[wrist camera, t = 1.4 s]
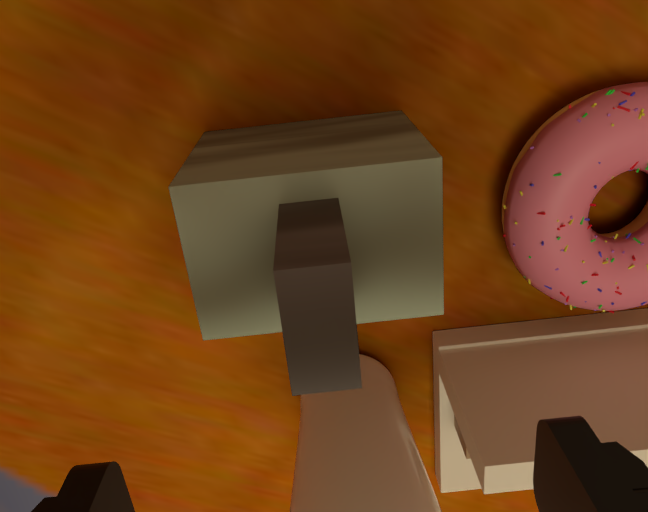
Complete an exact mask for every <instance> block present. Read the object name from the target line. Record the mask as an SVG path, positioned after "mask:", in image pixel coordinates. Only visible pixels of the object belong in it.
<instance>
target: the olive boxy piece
mask: <svg viewBox="0 0 648 512" xmlns="http://www.w3.org/2000/svg"><path fill="white" fill-rule="evenodd" d="M169 191H170V196H171V200H172V205H173V209H174V214H175V218H176V222H177V227H178V231H179V236H180V240H181V245H182V249H183V253H184V258H185V262H186V267H187V271H188V275H189V280H190V284H191V289H192V293H193V298H194V302H195V306H196V311H197V315H198V320H199V324H200V329H201V333H202V337H203V340H211V339H220V338H230V337H239V336H248V335H258V334H267V333H276V332H283V339H284V345H285V352H286V358H287V365H288V371H289V378H290V384H291V391H292V396H295V395H304V394H314V393H323V392H332V391H342V390H351V389H360V388H362V381H361V369H360V358H359V346H358V335H357V324H360V323H369V322H379V321H388V320H397V319H407V318H416V317H425V316H434V315H444V286H443V187H442V156H441V155H440V154H439V153H438V152H437V151H436V150H435V148H434V147H433V146H432V145H431V144H430V143H429V142H428V140H427V139H426V138H425V137H424V136H423V135H422V133H421V132H420V131H419V130H418V129H417V128H416V127H415V125H414V124H413V123H412V122H411V121H410V120H409V119H408V117H407V116H406V115H405V114H404V113H403V112H402V111H392V112H383V113H374V114H365V115H356V116H346V117H337V118H328V119H319V120H310V121H300V122H291V123H282V124H273V125H264V126H254V127H245V128H236V129H227V130H218V131H208V132H204V134H203V135H202V137H201V138H200V140H199V141H198V143H197V144H196V146H195V147H194V149H193V150H192V152H191V153H190V155H189V156H188V158H187V159H186V161H185V163H184V164H183V166H182V167H181V169H180V170H179V172H178V173H177V175H176V176H175V178H174V179H173V181H172V182H171V184H170V185H169Z"/></svg>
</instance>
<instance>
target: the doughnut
mask: <svg viewBox="0 0 648 512" xmlns="http://www.w3.org/2000/svg"><path fill="white" fill-rule="evenodd" d="M632 170H635V172H637V173H638V172H639V170H640V171H643V172H645V173H647V174H648V82H637V83H630V84H623V85H617V86H612V87H608V88H604V89H601V90H598V91H595V92H592V93H590V94H588V95H585V96H583V97H581V98H579V99H577V100H575V101H573V102H572V103H570V104H568V105H567V106H565V107H564V108H562V109H561V110H559V111H558V112H557V113H555V114H554V115H553V116H551V117H550V118H549V119H548V120H547V121H546V122H545V123H543V124H542V125H541V126H540V127H539V128H538V129H537V131H536V132H535V133H534V134H533V135H532V136H531V137H530V139H529V140H528V141H527V143H526V144H525V145H524V147H523V148H522V150H521V151H520V153H519V155H518V156H517V158H516V160H515V162H514V164H513V166H512V168H511V171H510V173H509V176H508V179H507V182H506V185H505V189H504V194H503V200H502V225H503V231H504V235H503V237H505V243H506V246H507V249H508V251H509V254H510V256H511V258H512V260H513V262H514V264H515V266H516V267H517V269H518V270H519V272H520V273H521V274H522V276H523V277H524V278H525V279H526V280H527V281H528V283H529V284H531V285H532V286H533V287H535V288H536V289H538V290H540V291H541V292H543V293H544V294H546V295H548V296H550V297H551V299H555V300H557V301H559V302H562V303H564V304H565V305H570V310H572V306H574V308H576V307H579V308H584V309H590V310H594V311H596V310H600V311H603V312H605V311H608V312H611V313H614V311H615V310H624V309H629V308H634V307H638V306H642V305H646V304H648V200H647V203H646V205H645V206H644V208H643V210H642V211H641V212H640V214H639V215H638V216H637V217H636V218H635V219H634V220H633V221H632V222H631V223H629V224H628V225H626V226H625V227H623V228H621V229H619V230H617V231H614V232H611V233H606V234H598V233H596V232H595V231H594V230H593V229H592V228H591V226H592V224H590V225H589V223H588V221H589V220H590V219H589V218H588V214H589V209H590V206H596V204H591V203H592V201H593V199H594V198H595V196H596V194H597V193H598V192H599V190H600V189H601V188H602V187H603V186H604V185H605V184H606V183H607V182H608V181H610V180H611V179H612V178H614V177H615V176H617V175H619V174H621V173H623V172H626V171H632Z"/></svg>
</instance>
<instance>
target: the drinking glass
mask: <svg viewBox="0 0 648 512" xmlns="http://www.w3.org/2000/svg"><path fill="white" fill-rule="evenodd" d="M359 358H360V369H361V381H362V388H360V389H351V390H342V391H332V392H323V393H314V394H304V395H301V415H300V425H299V435H298V444H297V453H296V462H295V471H294V479H293V488H292V496H291V505H290V512H442V510H441V508H440V505H439V503H438V500H437V497H436V495H435V492H434V490H433V487H432V485H431V482H430V479H429V477H428V474H427V472H426V469H425V467H424V464H423V461H422V459H421V456H420V454H419V451H418V448H417V446H416V443H415V441H414V438H413V435H412V433H411V430H410V427H409V425H408V422H407V419H406V417H405V414H404V411H403V408H402V406H401V403H400V400H399V396H398V392H397V388H396V384H395V381H394V379H393V377H392V375H391V373H390V372H389V371H388V369H387V368H386V367H385V366H384V365H383V364H381V363H380V362H379V361H377V360H375V359H374V358H371V357H369V356H366V355H362V354H359Z"/></svg>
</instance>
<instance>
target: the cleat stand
mask: <svg viewBox="0 0 648 512" xmlns="http://www.w3.org/2000/svg"><path fill="white" fill-rule="evenodd" d="M433 377H434V427H435V474H436V477H437V481H438V484H439V488H440V491H441V493H445V492H454V491H464V490H473V489H482V490H483V493H484V494H490V493H500V492H509V491H519V490H528V489H534V488H533V470H534V457H535V444H536V430H537V424H538V422H539V420H541V419H551V418H561V417H571V416H582V417H583V418H584V419H585V420H586V421H587V422H588V424H589V425H590V427H591V428H592V430H593V431H594V433H595V434H596V436H597V437H598V439H599V440H600V442H601V443H606V442H615V441H617V442H618V443H619V444H621V445H622V446H623V447H625V448H626V449H627V450H629V451H630V452H631V453H633V454H634V455H635V456H637V457H638V458H639V459H641V460H642V461H643V462H644V463H645V464H646V466H647V467H648V308H644V309H635V310H625V311H616V312H614V313H611V312H607V313H597V314H588V315H579V316H569V317H560V318H551V319H541V320H532V321H523V322H513V323H504V324H495V325H485V326H476V327H467V328H457V329H448V330H439V331H433Z"/></svg>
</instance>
